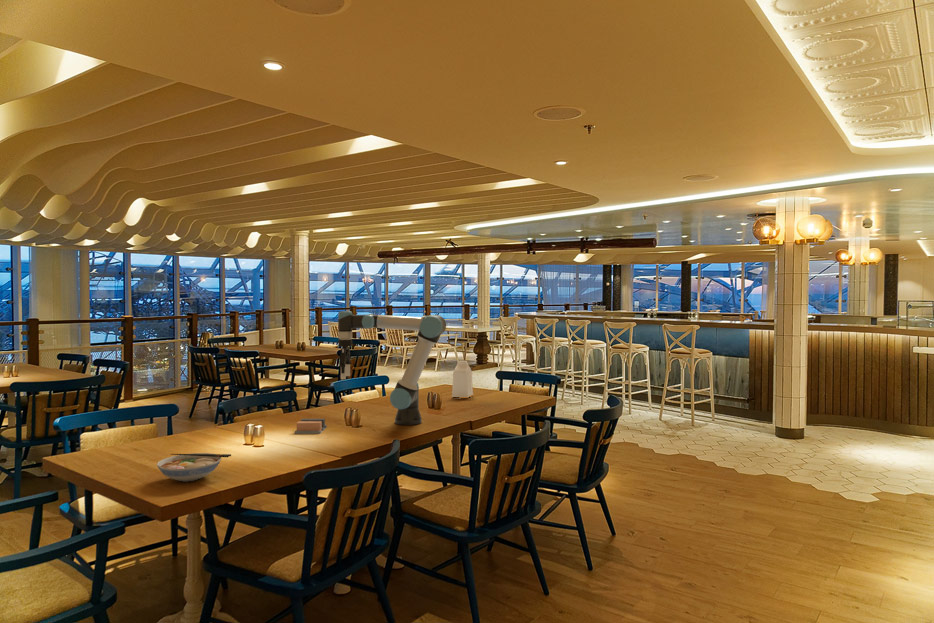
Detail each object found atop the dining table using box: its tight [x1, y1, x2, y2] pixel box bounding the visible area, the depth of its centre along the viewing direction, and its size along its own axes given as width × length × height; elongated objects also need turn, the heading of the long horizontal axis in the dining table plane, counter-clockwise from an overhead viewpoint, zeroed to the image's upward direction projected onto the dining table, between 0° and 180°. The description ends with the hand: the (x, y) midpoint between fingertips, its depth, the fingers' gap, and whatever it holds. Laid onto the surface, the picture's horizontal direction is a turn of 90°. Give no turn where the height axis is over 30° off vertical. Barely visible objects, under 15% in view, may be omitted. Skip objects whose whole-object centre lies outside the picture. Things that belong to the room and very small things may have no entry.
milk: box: [451, 360, 474, 398], centre depth 425 cm, size 12×12×26 cm
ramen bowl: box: [156, 452, 232, 483], centre depth 229 cm, size 25×23×8 cm
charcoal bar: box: [300, 418, 326, 429], centre depth 315 cm, size 12×4×5 cm, turn 91°
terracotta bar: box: [296, 420, 323, 432], centre depth 308 cm, size 12×4×5 cm, turn 91°
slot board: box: [294, 424, 328, 435], centre depth 311 cm, size 13×16×2 cm
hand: (345, 377), depth 327 cm, fingers open, 13 cm apart
